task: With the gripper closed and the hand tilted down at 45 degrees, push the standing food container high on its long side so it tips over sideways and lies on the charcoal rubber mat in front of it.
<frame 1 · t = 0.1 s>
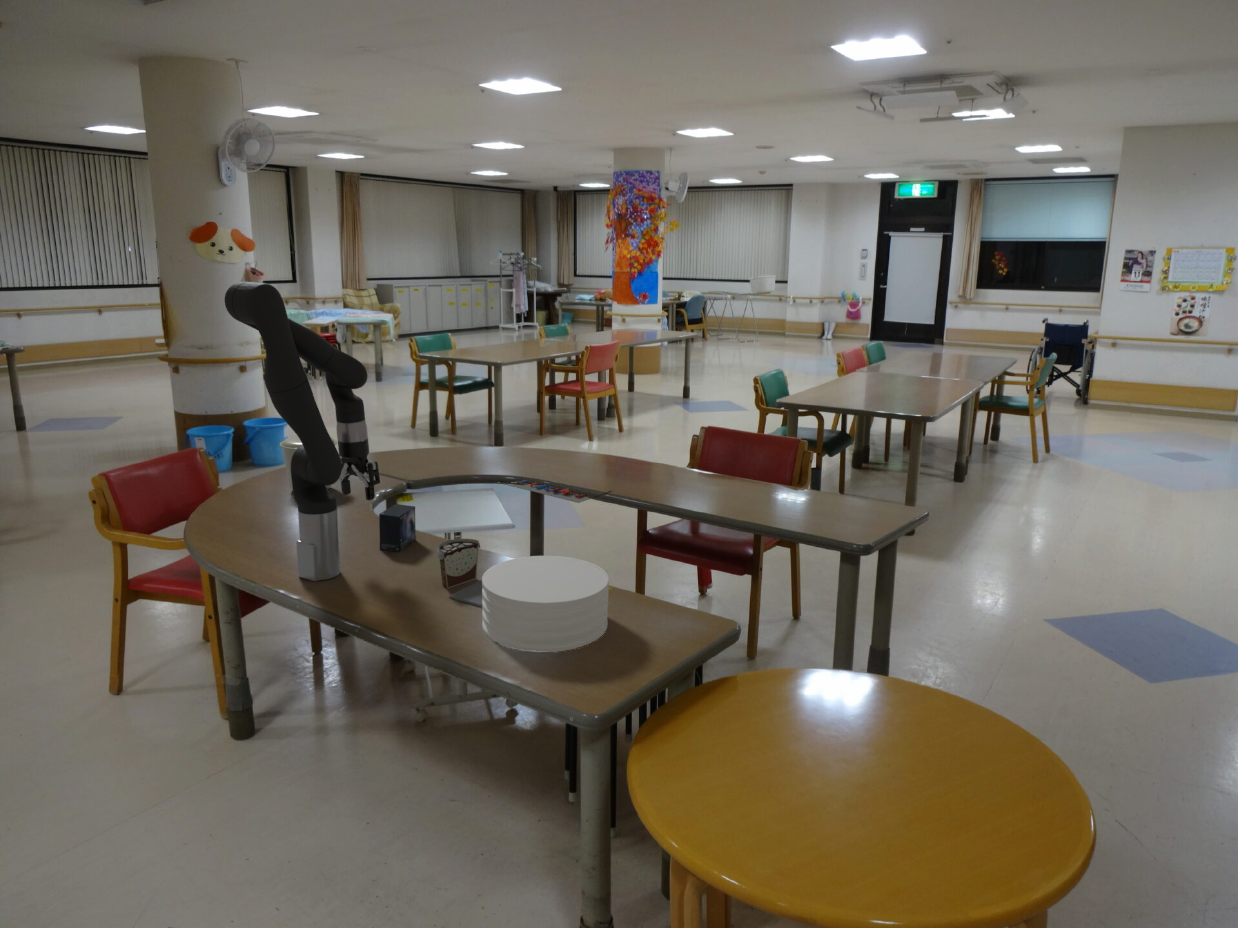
hand: (358, 496, 225), 17 cm above the table, tool pointing down, fingers open, 8 cm apart
rubber mat: (489, 590, 211), on the table
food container: (454, 581, 217), on the table
canister: (311, 490, 291), on the table
plate stack: (545, 625, 193), on the table
gear board: (546, 486, 306), on the table
small box: (398, 546, 240), on the table
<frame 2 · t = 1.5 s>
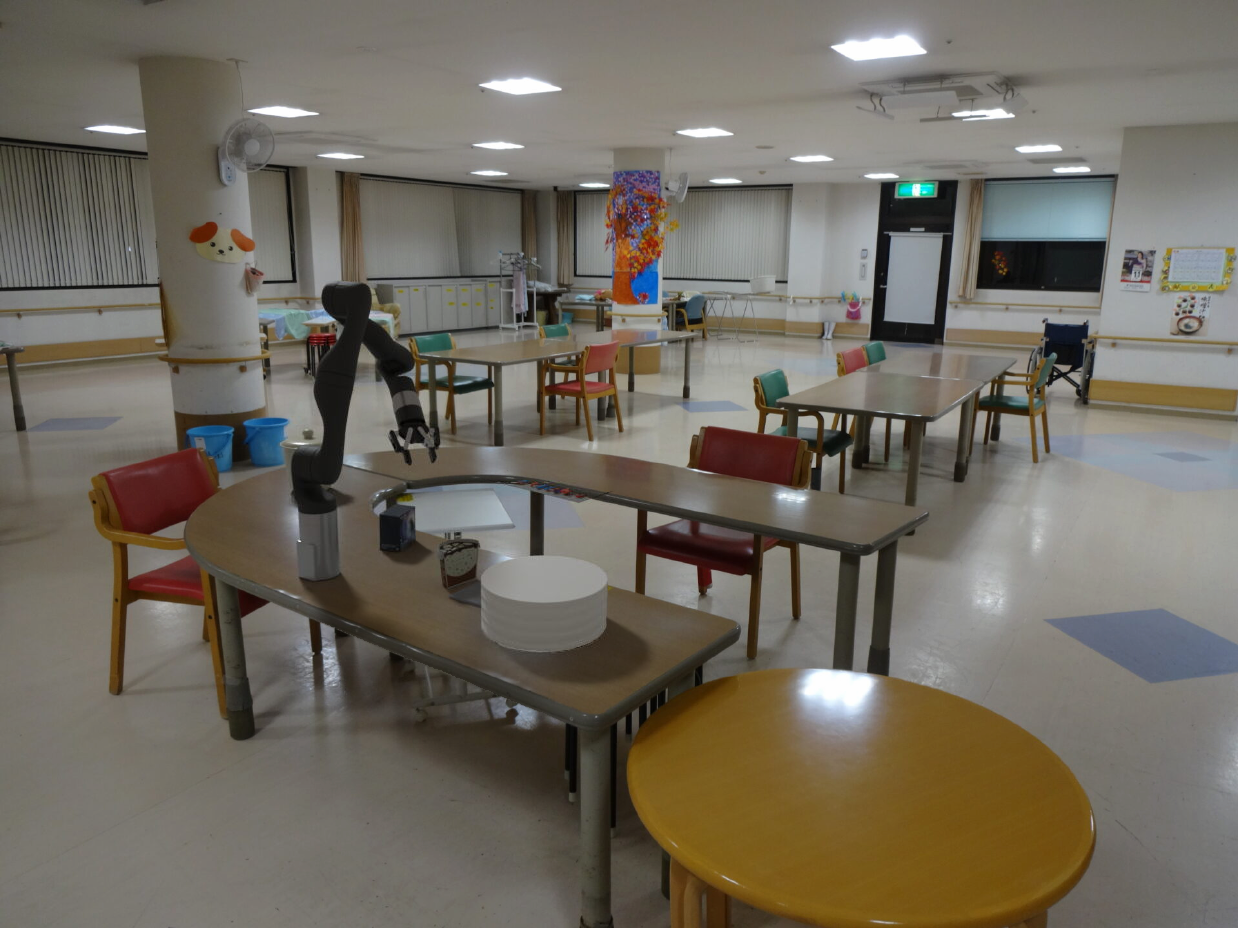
hand: (422, 462, 230), 25 cm above the table, tool tilted 45°, fingers open, 5 cm apart
nothing on the table moved.
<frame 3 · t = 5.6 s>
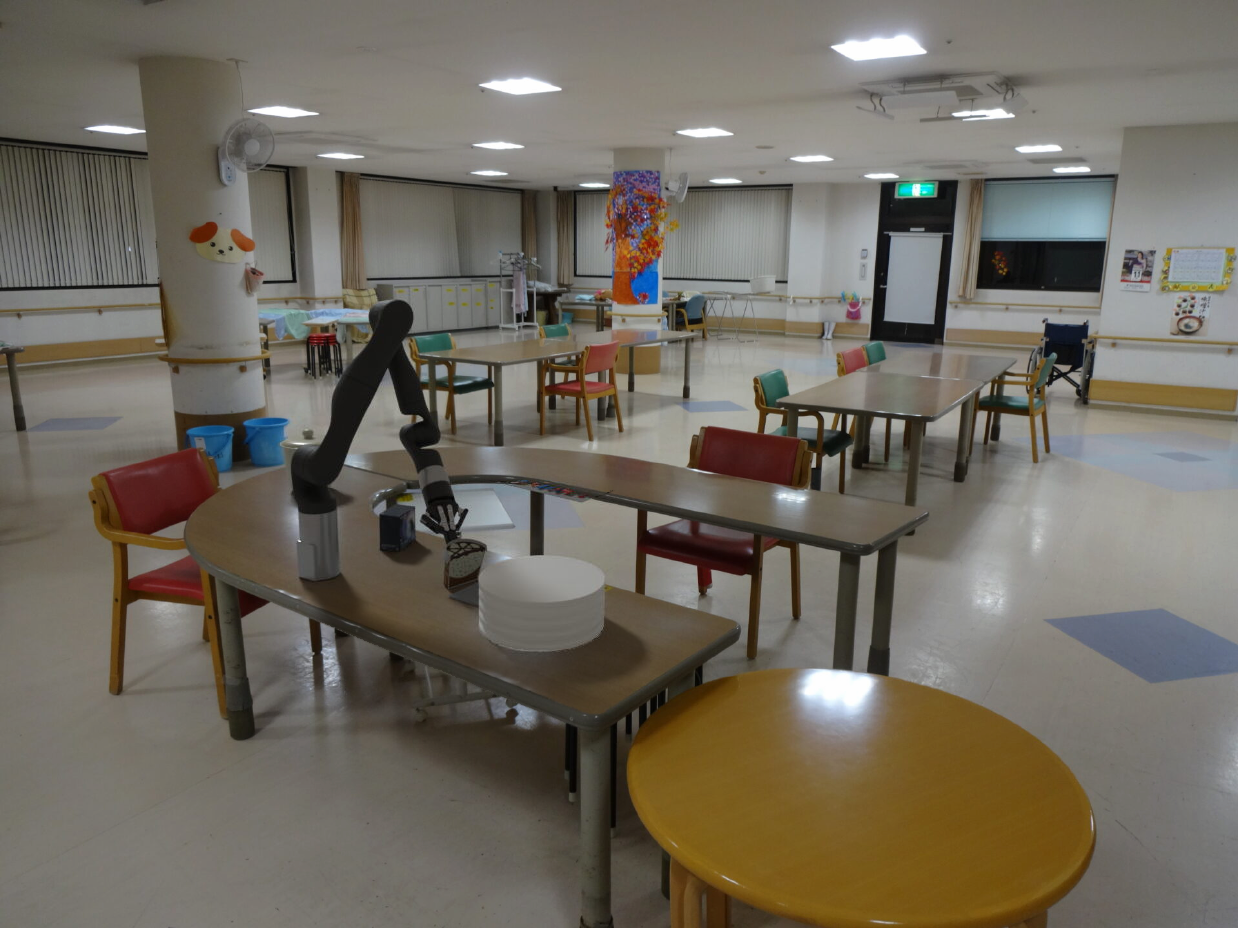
hand: (453, 545, 215), 9 cm above the table, tool tilted 45°, fingers closed
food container: (455, 579, 216), point 1 cm above the table, touching gripper
everything else where it was.
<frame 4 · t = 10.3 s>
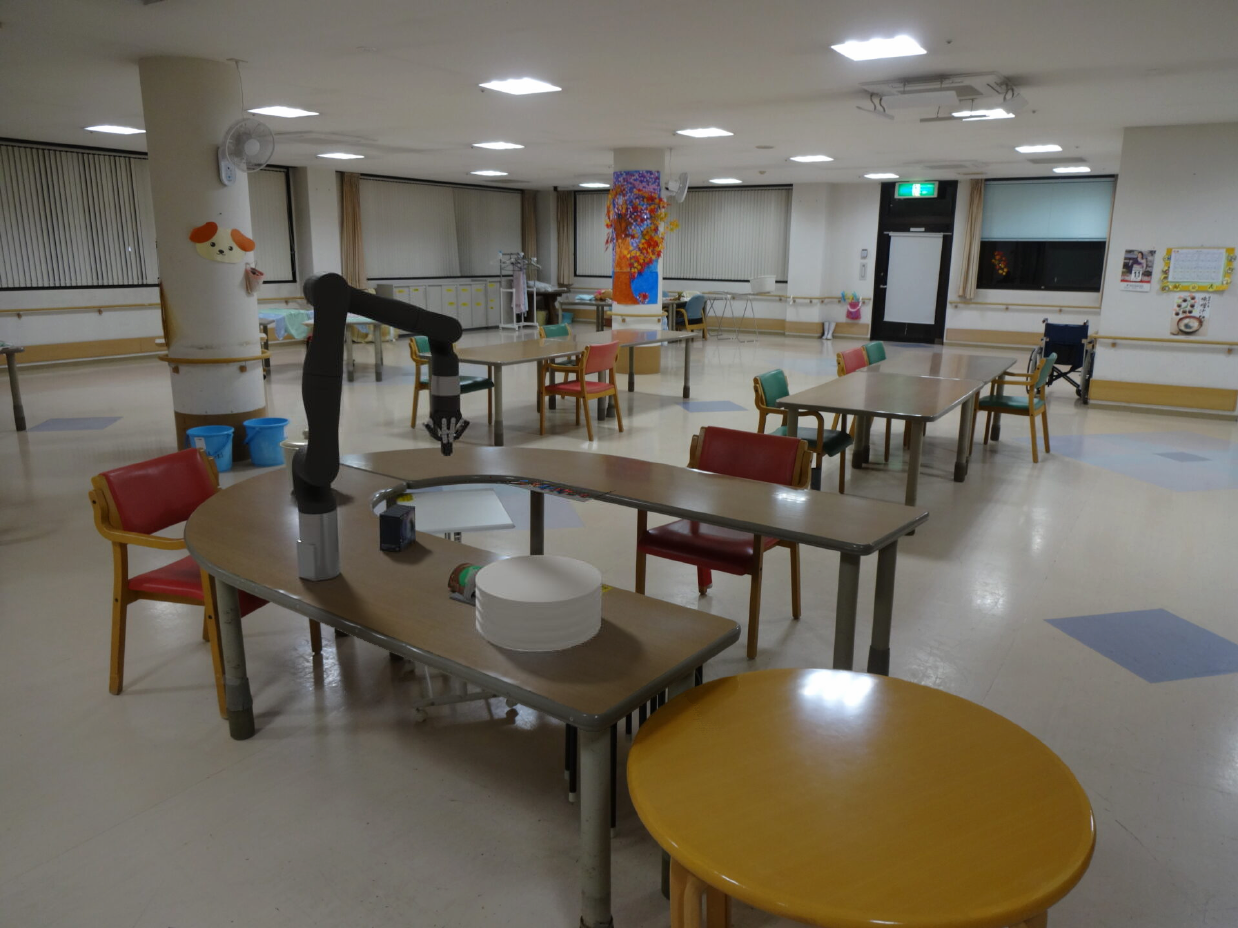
hand: (446, 455, 231), 27 cm above the table, tool pointing down, fingers closed
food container: (462, 570, 214), point 4 cm above the table, touching rubber mat
at the end: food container tilted 90°; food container touching rubber mat; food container inside the target area (0.6 cm from its centre), point 3.7 cm above the table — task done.
